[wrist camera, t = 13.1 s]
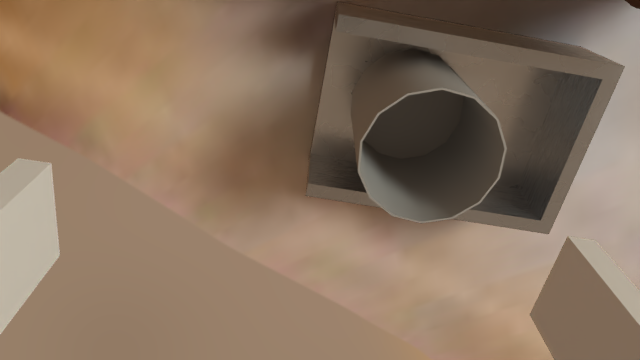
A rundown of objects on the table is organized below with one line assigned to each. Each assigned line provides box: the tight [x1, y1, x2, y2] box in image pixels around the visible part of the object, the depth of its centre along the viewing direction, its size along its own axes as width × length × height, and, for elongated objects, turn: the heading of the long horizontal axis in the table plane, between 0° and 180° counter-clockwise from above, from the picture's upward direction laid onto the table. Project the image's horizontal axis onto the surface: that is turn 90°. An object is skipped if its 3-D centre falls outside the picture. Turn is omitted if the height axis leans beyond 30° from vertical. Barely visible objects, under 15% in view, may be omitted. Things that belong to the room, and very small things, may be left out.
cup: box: [351, 48, 507, 223], centre depth 32 cm, size 8×8×10 cm
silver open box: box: [306, 2, 625, 234], centre depth 35 cm, size 18×12×6 cm
